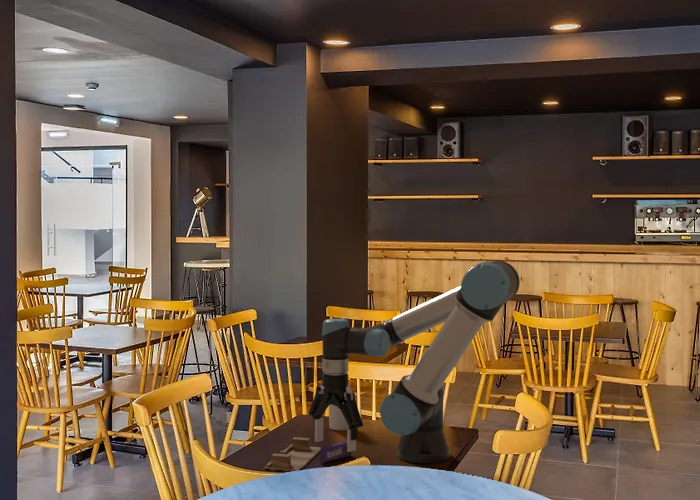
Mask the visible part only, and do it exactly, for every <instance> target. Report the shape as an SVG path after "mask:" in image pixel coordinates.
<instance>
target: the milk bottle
mask: <svg viewBox="0 0 700 500" xmlns="http://www.w3.org/2000/svg"><path fill="white" fill-rule="evenodd" d="M346 373H347V374H348V372H346ZM346 391H347V393H352V392H353V391H352V388H351V386H350V384H349V383H348V386H347V388H346ZM343 404H344V402H343ZM328 419H329V420H328V423H329V424H328V425H329V429H330V430H332V431H347V429H348V428H349V425H348V424H347V422H346V420H345V418H344V416H343V414H342V412H341V410H340V409H339V408H338V407H337V406H334V405H329V406H328Z"/></svg>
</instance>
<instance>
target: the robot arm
mask: <svg viewBox="0 0 700 500" xmlns="http://www.w3.org/2000/svg"><path fill="white" fill-rule="evenodd" d="M520 283H521V281H520V276H519V272H518V271H517V269H516V268H515V267H514V266H513V265H512V264H510V263H509V262H506V261H502V260H493V261H484V262H480V263H477V264H474V265H473V266H472V267H471V268H469V269H468V270H467V271H466V272H465V273H464V275H463V277H462V279H461V285H459V286H457V287H454V288H452V289H450V290H448V291H446V292H444V293H442V294H440V295H437V296H435V297H433V298H432V299H429V300H427V301H425V302H423V303H421V304H419V305H417V306H414V307H412V308H410V309H407V311H405V312H402V313H400V314H399V315H396V316H394V317H391V318H389V319H387V320H385V321H383V322H381V323H378V324H375V325H372V326H369V327H354V326H353V327H352V326H350V324H349V323H350V322H349V321H348V319H346V318H327V319H325V320H324V321H323V323H322V334H321V338H322V355H321V356H322V358H321V360H322V361H321V362H322V366H321V369H322V372H323V373H322V374H321V384H322V385H319V386H316V388H315V395H314V397H313V399H312V400H313V401H312V402H311V405H310V407H309V412H308V416H311V417H312V419H313V429H314V442H315V443H318V442H322V441H324V418H323V417H324V416H323V415H324V413H325V412H326V411H327V409H329V405H334V406H337V407H338V408H339V409H340V410H341V412H342V414H343V416H344V418H345V420H346V422H347V424H348V425H349V428H348V429H347V430H346V433H347V434H346V435H347V437H346V438H347V439H346V441H347V452H351V453H352V452H354V451H356V450H357V439H358V428H361V427H364V422H363V420H362V419H363V418H362V417H361V413H360V411H359V408H358V407H359V406H358V404H357V401H356V394H355V392H354V391H351V392H352V393H347V391H346V388H347V386H348V384H349V373H348V372H349V354H350V355H353V354H354V355H362V356H370V357H385V356H386V355H387V353H388V352H389V349H391V348H394V347H395V346H397V345H398V344H401V343H402V342H404V341H406V340H409V339H411V338H413V337H415V336H418V335H420V334H422V333H424V332H426V331H428V330H430V329H433V328H434V327H435V328H436V327H438V326H439V325H442V324H443V325H442V326H441V328H440V329H439V331H438V332H437V334H436V336H435V337H434V338H433V339H432V342H431V343H430V344H429V346H428V348H427V349H426V350H425V352H424V354H423V355H422V357H421V358H420V359H419V361H418V363H417V365H416V366H415V367H414V369H413V371H412V372H411V373H410V374H406V375H402V377H401V379H400V380H399V382H398V383H397V384H396V386H395V388H394V390H393V391H392V392H391V393H389V394H388V395H386V396H385V398H384V399H383V400H382V402H381V403H380V407H379V415H380V419H381V422H382V424H383V426H384V427H385V428H386V429H387V430H388V431H389V432H391V433H392V434H394V435H397V436H400V439H399V443H398V445H397V457H398V459H400V460H403V461H405V462H409V463H415V464H436V463H440V462H441V463H442V462H444V461H446V460H449V458H450V457H451V455H450V446H449V445H448V442H447V437H446V434H445V431H444V430H445V429H444V392H445V390H444V383H445V381H446V380H447V379H448V377H449V376H450V374H452V373H451V372H453V369H454V368H455V366H456V365H457V363H458V362H459V361H460V360H461V358H462V356H463V355H464V353H465V351H466V350H467V349H468V347H469V345H470V344H471V343H472V341H473V340H474V339H475V337H476V335H477V334H478V332H479V331H480V329H481V328H482V326H483V325H484V323H489V322H492V321H493V320H494V319H495V318H496V316H497V314H498V313H499V311H500V310H501V309H502V307H503V306H504V304H505V303H508V302H509V301H510V300H512V299H513V298H514V297H515V296H517V294H518V291H519V288H520ZM346 372H347V373H346ZM343 402H344V404H343Z"/></svg>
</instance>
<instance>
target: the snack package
mask: <svg viewBox="0 0 700 500" xmlns="http://www.w3.org/2000/svg"><path fill="white" fill-rule="evenodd" d="M320 448H321V449H320V450H321V452H320V465H321V464H322V465H323V464H324V463H327V462H330V461H334V460H338V459H342V458H346V457H351V456H352V451H351V452H347V440H345V441H340V442H337V443H334V444H333V443H332V444H329V445H325V446H323V445H322V446H320Z"/></svg>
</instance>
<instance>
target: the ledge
mask: <svg viewBox="0 0 700 500" xmlns="http://www.w3.org/2000/svg"><path fill="white" fill-rule="evenodd" d="M320 447H321V446H320ZM320 447H319V446H311V438H309V437H295V436H294V437H293V438H292V439H291V444H290V445H288V446H287V447H286V448H285V449H283V450H279V453H273V454H271V455H270V456H271V459H270V461H269V462H268V463H266V465H265V466H264V470H265V469H269V470H268V471H276V470H283V471H282V472H289V471H292V470H299V469H302V470H303V469H304V468H305V467H306V466H307V465H308V464H309V463H310V462H311V461H312V460H314V458H316V457H317V456H318V454H319V453H320V454H321V450H320V449H321V448H320Z"/></svg>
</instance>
